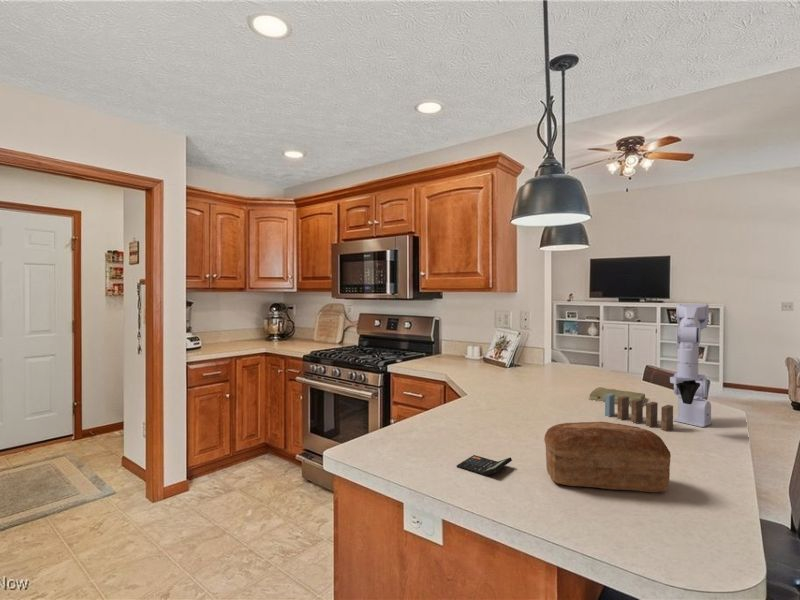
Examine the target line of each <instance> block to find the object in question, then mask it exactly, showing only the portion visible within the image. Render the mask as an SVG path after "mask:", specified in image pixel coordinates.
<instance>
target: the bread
mask: <svg viewBox="0 0 800 600" xmlns="http://www.w3.org/2000/svg"><path fill="white" fill-rule="evenodd" d="M543 439H544V440H543V442H544V445H545V461H546V463H545V464H546V465H545V466H546V471H547V474H548V475H549V477H550V479H552V480H553V481H554V483H556V484H559V485H563V486H569V487H570V486H571V487H585V488H599V489H606V490H624V491H627V490H628V491H637V492H638V491H639V492H644V493H645V492H647V493H663V492H666V491H668V487H669V482H670V474H671V473H670V469H671V466H670V465H671V456H672V455H671V451H670V449H669V448H668V446H667V444H666V443H665V442H664V441H663V439H662V438H661V436H659V435H657V434H656V433H655V432H653V431H651V430H648V429H645V428H641V427H639V426H633V425H628V424H622V423H621V424H620V423H613V422H608V421H607V422H606V421H594V422H593V421H589V422H587V421H585V422H582V421H581V422H580V421H579V422H564V423H563V422H562V423H559V424H555V425H552V426H551V427H549V428H548V429H547V430H546V432H545V434H544V438H543Z"/></svg>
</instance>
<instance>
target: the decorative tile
mask: <svg viewBox="0 0 800 600" xmlns="http://www.w3.org/2000/svg"><path fill="white" fill-rule="evenodd" d="M610 393H612V394H615V405H618V398H619V397H623V396H627V397H629V405H630V406H629V407H631V401H632V400H636V399H642V400H643V401H645V400H646V395H645V394H646V393H642V392H636V391H627V390H620V389H615V388H614V389H613V388H606V387H596V388H595V389H594V390H592V391H591V392H590V394H589V397H588V400H589V401H593V400H595V402H601V401H603V403H605V395H607V394H610ZM644 399H645V400H644Z"/></svg>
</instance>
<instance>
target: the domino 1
mask: <svg viewBox="0 0 800 600" xmlns="http://www.w3.org/2000/svg"><path fill="white" fill-rule="evenodd" d="M615 406H616V404H615V394H612V393H610V394H607V395H605V402H604V416H605V417H606V416H608V418H610V416H611V417H612V415H613V416H614V414H615Z"/></svg>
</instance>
